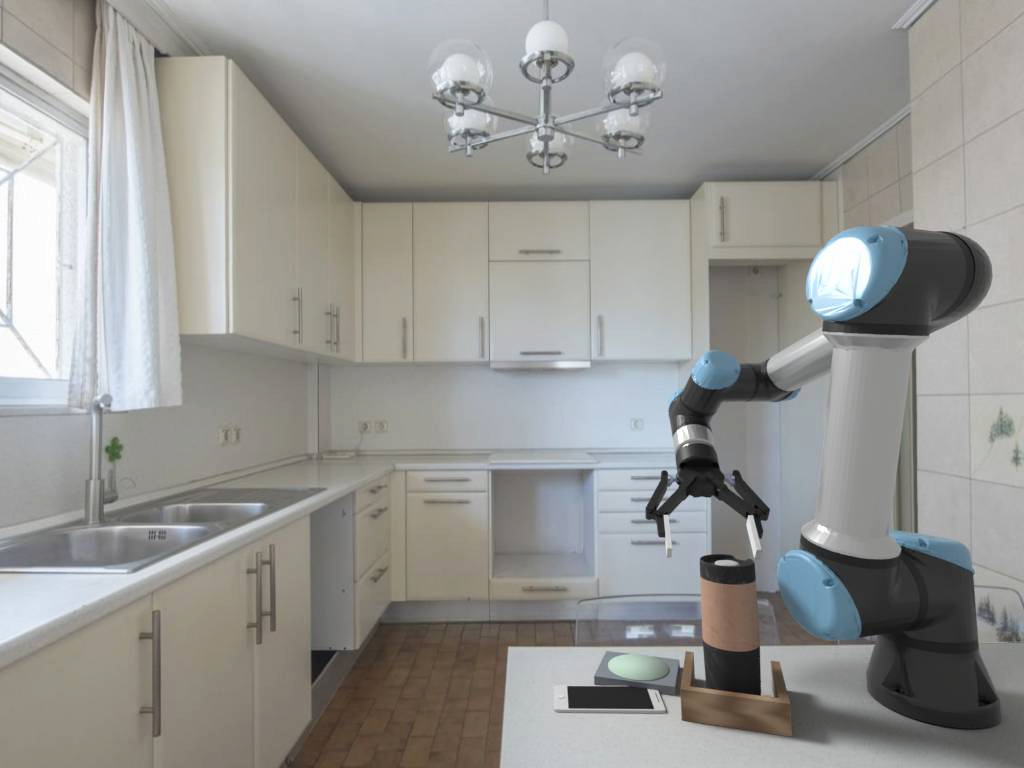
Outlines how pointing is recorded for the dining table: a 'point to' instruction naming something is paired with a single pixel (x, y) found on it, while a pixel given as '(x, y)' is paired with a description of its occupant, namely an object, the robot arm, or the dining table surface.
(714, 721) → the mug cradle
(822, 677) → the dining table surface
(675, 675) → the dock pad
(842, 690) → the dining table surface
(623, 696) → the smartphone
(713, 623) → the travel mug
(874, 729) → the dining table surface
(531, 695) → the dining table surface
